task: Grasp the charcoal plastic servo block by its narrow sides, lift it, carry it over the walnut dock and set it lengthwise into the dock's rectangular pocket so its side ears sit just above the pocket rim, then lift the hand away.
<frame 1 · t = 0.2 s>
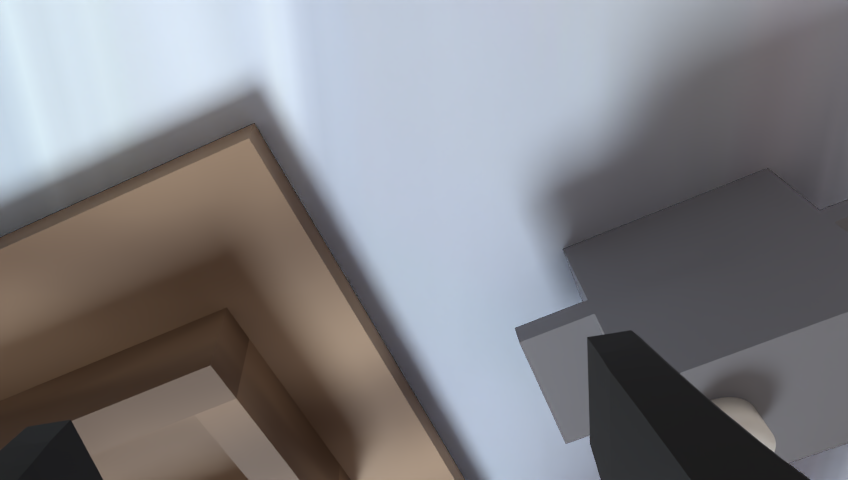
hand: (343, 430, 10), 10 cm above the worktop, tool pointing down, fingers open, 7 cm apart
servo block: (677, 262, 21), on the worktop
dock: (160, 437, 22), on the worktop
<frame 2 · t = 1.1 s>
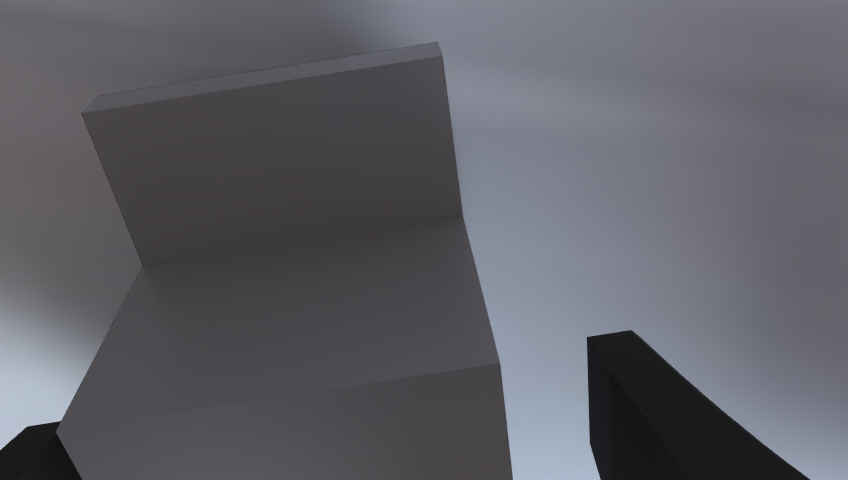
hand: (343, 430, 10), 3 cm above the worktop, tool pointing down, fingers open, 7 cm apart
servo block: (353, 294, 13), on the worktop
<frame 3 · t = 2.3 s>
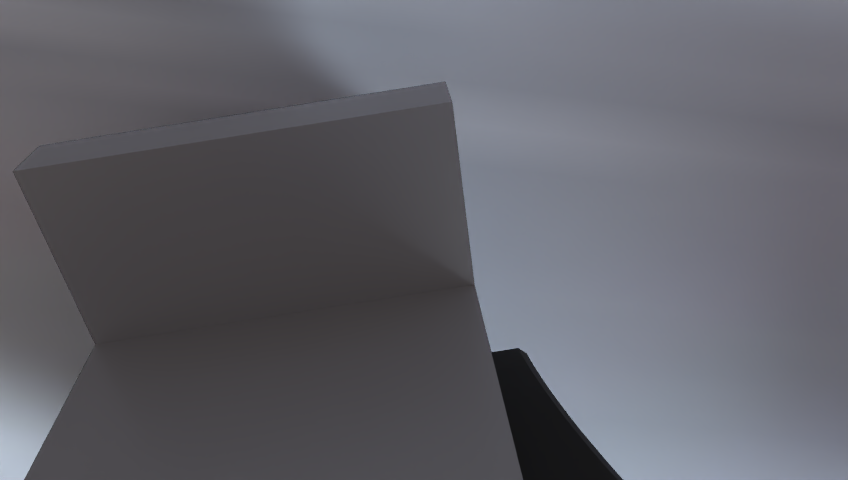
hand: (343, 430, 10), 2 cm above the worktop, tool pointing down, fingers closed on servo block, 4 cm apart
servo block: (346, 345, 12), on the worktop, touching gripper
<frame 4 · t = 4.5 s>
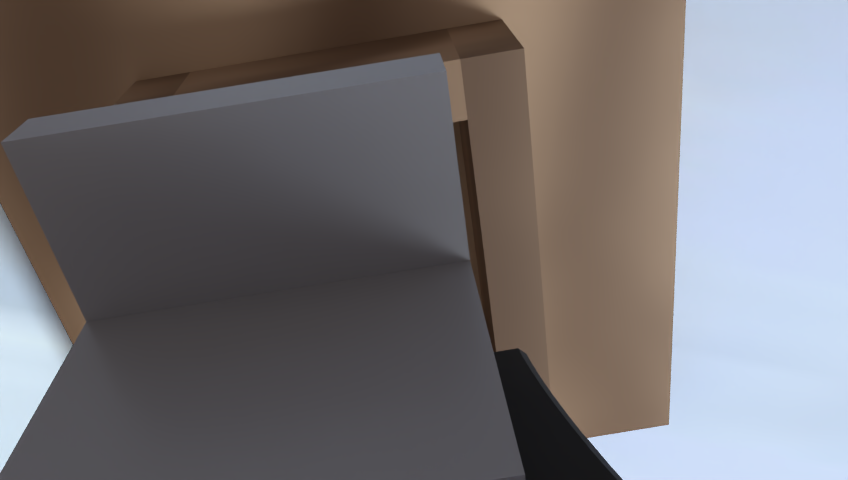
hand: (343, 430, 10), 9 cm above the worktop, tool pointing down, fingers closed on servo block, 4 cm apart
servo block: (342, 331, 11), point 7 cm above the worktop, touching gripper
dock: (362, 227, 18), on the worktop
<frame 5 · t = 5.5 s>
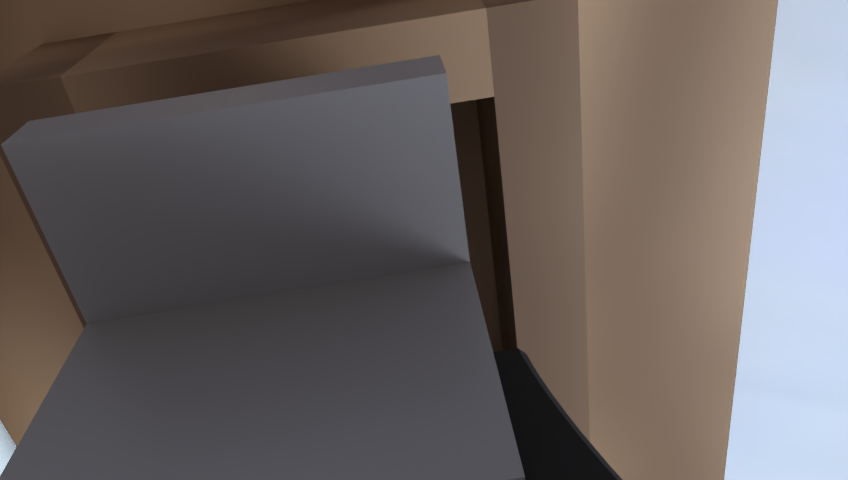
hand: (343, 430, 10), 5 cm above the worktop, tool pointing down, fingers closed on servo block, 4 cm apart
servo block: (342, 332, 11), point 3 cm above the worktop, touching gripper
dock: (350, 240, 15), on the worktop
when the fingers open (4 cm above the worktop, at t = 6.6 s): servo block drops 1 cm, resting on dock.
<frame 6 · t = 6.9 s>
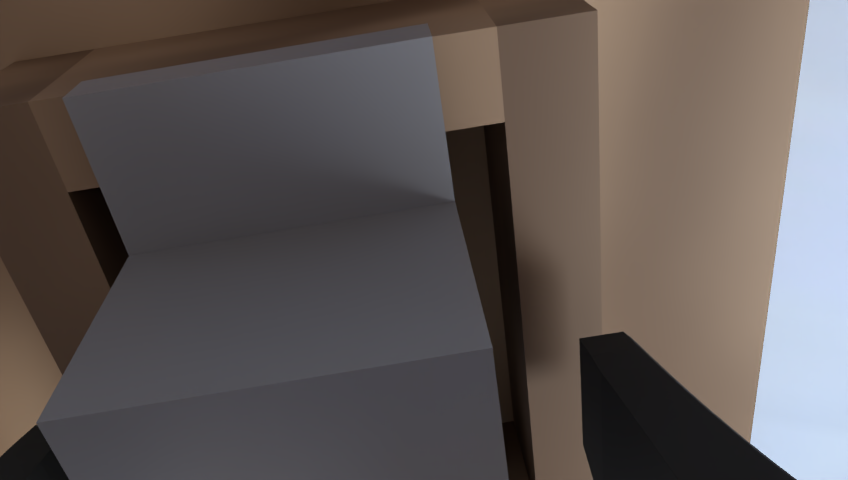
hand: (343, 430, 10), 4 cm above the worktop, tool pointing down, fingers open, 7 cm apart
servo block: (346, 285, 13), point 1 cm above the worktop, touching dock
dock: (348, 266, 14), on the worktop
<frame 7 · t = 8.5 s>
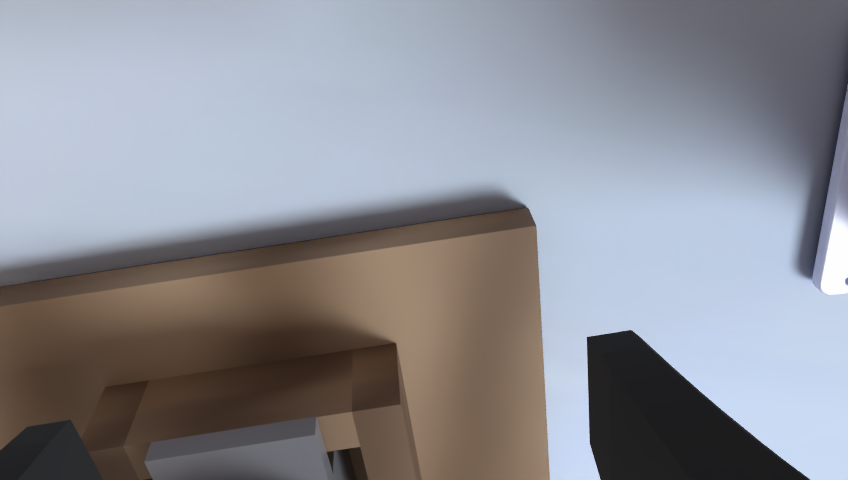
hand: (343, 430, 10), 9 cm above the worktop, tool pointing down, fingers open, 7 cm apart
dock: (294, 464, 22), on the worktop
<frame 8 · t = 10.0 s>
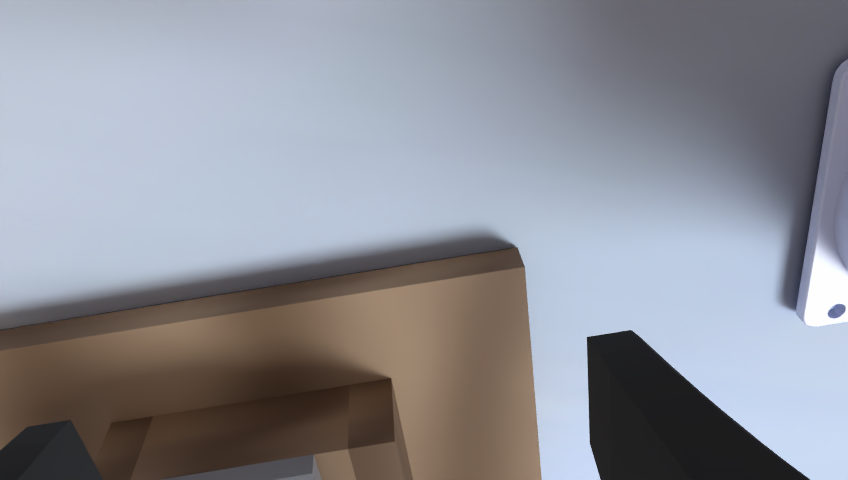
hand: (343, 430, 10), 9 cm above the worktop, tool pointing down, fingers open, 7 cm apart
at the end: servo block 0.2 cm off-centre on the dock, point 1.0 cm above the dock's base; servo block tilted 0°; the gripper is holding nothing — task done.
